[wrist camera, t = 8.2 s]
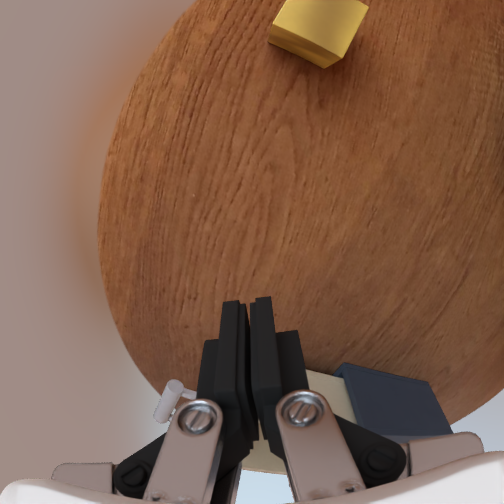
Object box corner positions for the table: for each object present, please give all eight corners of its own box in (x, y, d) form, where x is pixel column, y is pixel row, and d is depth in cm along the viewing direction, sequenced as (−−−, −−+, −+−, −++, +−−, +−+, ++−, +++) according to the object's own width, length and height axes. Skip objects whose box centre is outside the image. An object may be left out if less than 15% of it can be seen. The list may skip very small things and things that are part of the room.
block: (267, 41, 17) (272, 23, 13) (293, -3, 16) (303, -27, 11) (324, 69, 18) (342, 58, 14) (347, 24, 16) (369, 7, 12)
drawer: (156, 394, 31) (142, 449, 24) (186, 322, 26) (170, 389, 19) (301, 430, 35) (308, 479, 28) (358, 375, 30) (378, 431, 23)
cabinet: (283, 425, 35) (289, 486, 26) (343, 361, 30) (366, 434, 21) (367, 435, 38) (381, 484, 29) (427, 381, 33) (454, 434, 24)
